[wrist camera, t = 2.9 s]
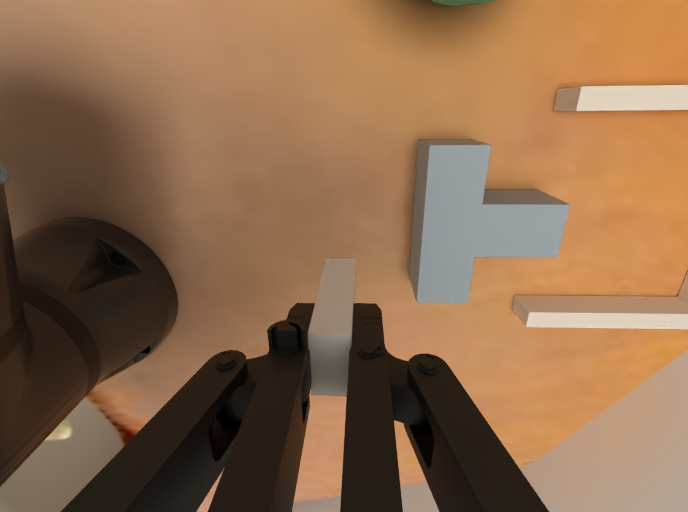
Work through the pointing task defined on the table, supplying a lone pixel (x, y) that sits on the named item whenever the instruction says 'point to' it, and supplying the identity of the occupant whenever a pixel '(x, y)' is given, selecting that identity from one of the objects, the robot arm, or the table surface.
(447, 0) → the mug
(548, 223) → the t block
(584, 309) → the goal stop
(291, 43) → the table surface
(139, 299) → the robot arm
